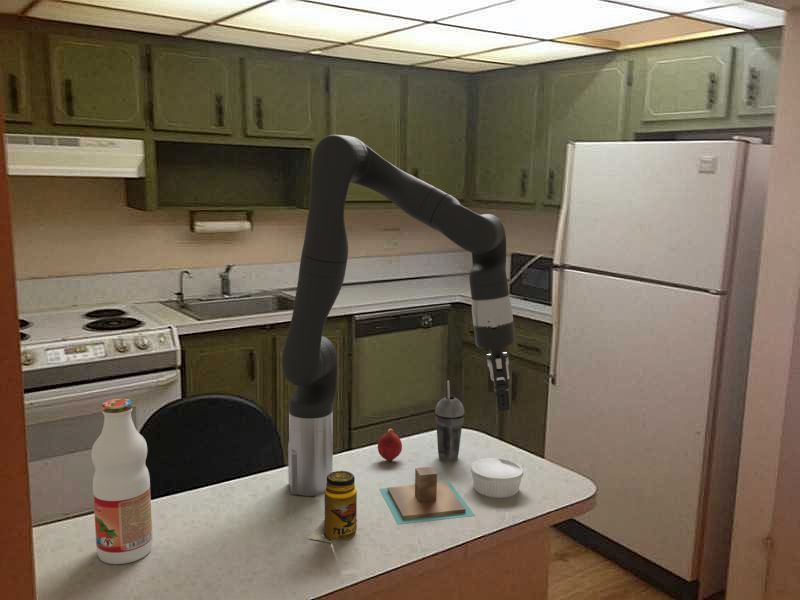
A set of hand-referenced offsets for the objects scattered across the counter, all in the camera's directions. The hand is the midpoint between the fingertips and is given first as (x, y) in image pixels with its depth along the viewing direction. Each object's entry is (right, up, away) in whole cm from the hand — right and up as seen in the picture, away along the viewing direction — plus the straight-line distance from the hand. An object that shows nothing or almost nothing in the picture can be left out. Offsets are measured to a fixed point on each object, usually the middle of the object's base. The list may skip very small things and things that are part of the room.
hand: (502, 403), depth 137 cm
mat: (-14, -23, +12) cm, 29 cm away
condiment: (-32, -25, -1) cm, 40 cm away
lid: (-14, -22, +12) cm, 29 cm away
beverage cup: (-8, -19, +35) cm, 40 cm away
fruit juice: (-69, -26, -8) cm, 74 cm away
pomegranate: (-22, -19, +33) cm, 44 cm away
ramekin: (+1, -22, +19) cm, 29 cm away
